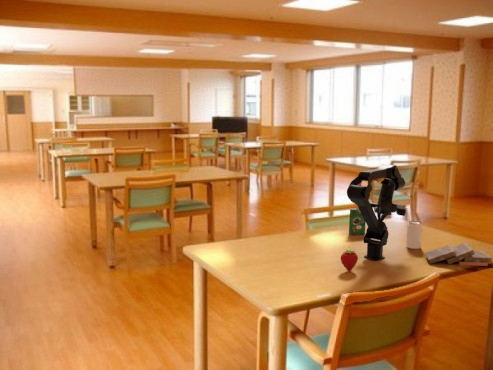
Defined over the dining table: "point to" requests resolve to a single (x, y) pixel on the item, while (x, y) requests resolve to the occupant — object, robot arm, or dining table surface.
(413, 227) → the can
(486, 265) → the tile
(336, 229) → the dining table surface
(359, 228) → the coffee box
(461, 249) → the tile
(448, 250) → the tile
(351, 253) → the strawberry
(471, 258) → the tile
